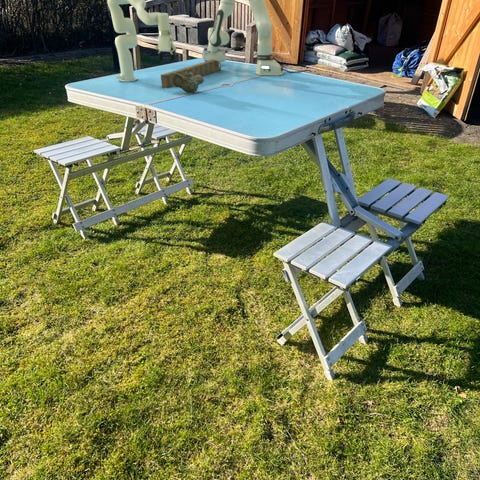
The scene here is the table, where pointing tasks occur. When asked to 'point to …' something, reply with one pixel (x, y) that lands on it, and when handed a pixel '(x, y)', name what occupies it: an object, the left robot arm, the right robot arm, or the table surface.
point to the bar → (195, 69)
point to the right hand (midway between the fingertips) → (214, 66)
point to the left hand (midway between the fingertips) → (167, 60)
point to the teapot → (188, 81)
